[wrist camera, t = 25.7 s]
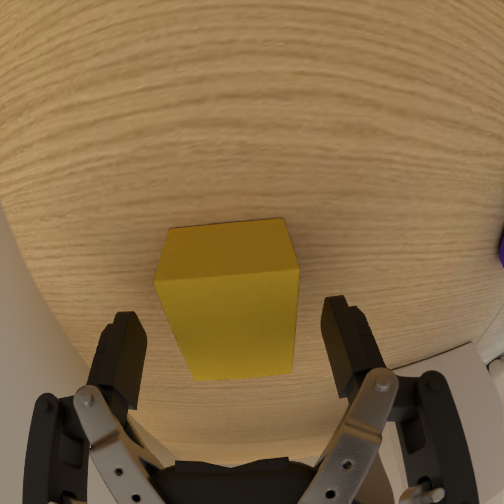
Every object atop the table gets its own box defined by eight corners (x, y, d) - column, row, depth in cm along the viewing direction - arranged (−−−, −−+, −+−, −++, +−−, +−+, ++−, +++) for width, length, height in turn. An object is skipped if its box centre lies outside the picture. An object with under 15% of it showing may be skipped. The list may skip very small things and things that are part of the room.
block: (168, 228, 12) (152, 282, 9) (283, 217, 12) (300, 269, 9) (197, 330, 16) (194, 381, 13) (282, 322, 16) (291, 373, 13)
